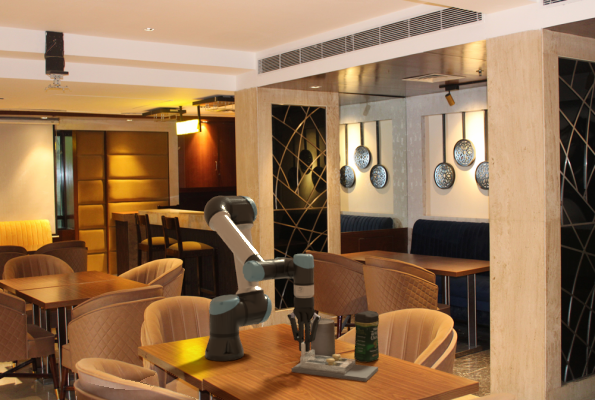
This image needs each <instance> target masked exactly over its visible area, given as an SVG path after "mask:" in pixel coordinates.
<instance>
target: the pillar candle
mask: <svg viewBox="0 0 595 400" xmlns="http://www.w3.org/2000/svg"><path fill="white" fill-rule="evenodd" d="M313 322H314V319H313V318H312V319H311V323H310V331H311V330H312V325H313ZM335 328H336V327H335V320H334V319H333V318H326V317H325V318H324V317H321V319H320V321H319V323H318V327H317V332H316V337H315V340H314V341H312V342H310V350H312V349H315V355H322V356H330V357H332V355H333V354H336V333H335V332H336V331H335V330H336V329H335Z"/></svg>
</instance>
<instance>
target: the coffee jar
mask: <svg viewBox="0 0 595 400" xmlns="http://www.w3.org/2000/svg"><path fill="white" fill-rule="evenodd" d="M379 323H380V316H379V313H378V312H377V311H373V310H367V311H361V312H357V313H356V314H354V326H355V339H354V341H355V342H354V355H353V359H355V361H358V362H361V363H363V362H366V363H370V362H373V361H376V360H378V359H379V358H380V356H379V355H380V353H379V352H380V351H379V333H378V332H379V330H378V329H379Z"/></svg>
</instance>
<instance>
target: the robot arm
mask: <svg viewBox="0 0 595 400" xmlns="http://www.w3.org/2000/svg"><path fill="white" fill-rule="evenodd" d="M257 208H258V207H257V205H256V203H255V201H254V200H253V199H252V198H251V197H250V196H244V195H218V196H214V197H212V198H210V200H208V201H207V203H206V205H205V206H204V210H203V217H204V222H205V223H206V225H207V226H208V227H209V228H210V230H212V231H214V232H216V234H217V235H218V236H219V237H220V238H221V239H222V241H223V242H224V243H225V245H226V246H227V247H228V249H229V250H230V251H231V252H232V253H233V259H234V266H235V272H236V273H235V274H236V281H237V286H238V287H237V288H238V289H237V291H236V292H235V294H224V295H220V296H216V297H214V298H212V299H211V300H210V302H209V310H208V312H209V313H208V314H209V318H208V319H209V337H208V340H207V345H206V347H205V352H204V358H206V359H207V360H210V361H215V362H228V361H235V360H239V359H241V358H244V357H245V356H244V355H245V354H244V352H245V350H244V346H243V344H242V341H241V337H240V328H241V327H247V326H254V325H259V324H261V323H265V322H266V321H268V320H269V318H270V316H271V315H272V309H273V306H272V305H273V304H272V300H271V298H270V296H269V295H268V294H265V291H264V288H262V287H261V286H260V282H264V281H269V280H280V279H292V280H293V295H294V297H293V307H294V308H293V310H292V312H291V313H289V314H287V316H286V317H287V319H288V321H289V322H290V323H289V324H290V327H291V332H292V336H293V340H294V342H295V341H296V342H298V350H299V352H300V355H301V356H302V355H304V354H305V353H307V352H309V351H310V350H311V342H312V341H314V340H315V337H316V332H317V327H318V323H319V321H320V319H321V318H322V316H321V315H318V314H317V313H316V309H315V297H314V295H315V260H314V255H312V254H311V253H297V254H294V255H293V258H290V257H284V256H283V257H278V256H277V257H275V258H271V259H264V258H263V256H262V255H261V254H260V253H259V252H258V250H257V249H256V248H255V247H254V243H253V237H252V229H253V227H254V222H255V221H256V220H257V215H258V209H257ZM296 319H297V320H296ZM313 319H314V322H313V325H312V330H311V328H310V327H311V326H310V323H311V320H313Z"/></svg>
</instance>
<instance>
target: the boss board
mask: <svg viewBox="0 0 595 400" xmlns="http://www.w3.org/2000/svg"><path fill="white" fill-rule="evenodd" d="M333 358H334V359H333ZM339 358H342V356H341V354H340V353H335V354H333V355H332V358H328V359H326V362H327V363H328V364H329V365H332V366H333V363H334V362H335V361H339ZM378 371H379V366H371V365H363V364H356V363H355V366H354V367H353V368H352V369H350V370H349V371H348V372H347V373H346V374H342V373H334V372H327V371H319V370H311V369H304V368H301V363H300V362H299V363H298V364H296V365H295V366H293V367H291V372H292V373H298V374H305V375H313V376H320V377H328V378H337V379H343V380H350V381H351V380H352V381H359V382H365V383H367V382H368V381H367V380H370V379H371V378H372V377H373V376H374V375H375V374H376V373H377V372H378Z"/></svg>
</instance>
